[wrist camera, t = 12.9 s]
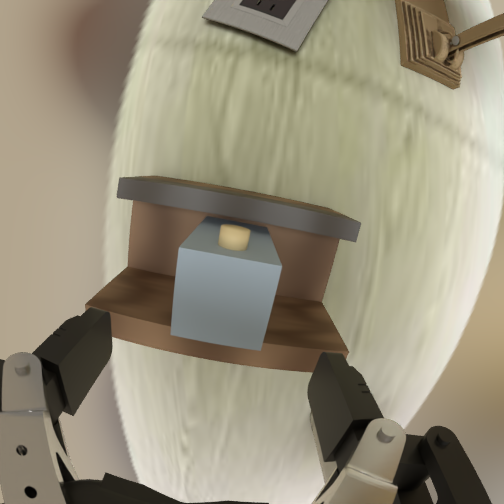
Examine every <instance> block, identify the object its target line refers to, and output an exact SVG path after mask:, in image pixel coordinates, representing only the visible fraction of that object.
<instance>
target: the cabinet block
mask: <svg viewBox="0 0 504 504" xmlns="http://www.w3.org/2000/svg"><path fill="white" fill-rule="evenodd" d="M281 269H282V264H281V262H280V259H279V257H278V254H277V251H276V249H275V246H274V244H273V241H272V239H271V236H270V233H269V231H268V228H267V227H263V226H258V225H253V224H248V223H242V222H237V221H232V220H226V219H221V218H215V217H210V216H206V218H205V219H204V220H203V221H202V222H201V223H200V224H199V225H198V226H197V227H196V229H195V230H194V231H193V232H192V233H191V234H190V235H189V236H188V238H187V239H186V240H185V241H184V242H183V243H182V244H181V245H180V247H179V251H178V259H177V268H176V277H175V287H174V297H173V308H172V320H171V334H170V335H174V336H178V337H183V338H188V339H193V340H198V341H203V342H208V343H214V344H220V345H225V346H231V347H238V348H244V349H251V350H258V351H261V348H262V344H263V340H264V336H265V333H266V329H267V325H268V321H269V317H270V313H271V310H272V306H273V302H274V298H275V294H276V290H277V286H278V282H279V277H280V273H281Z"/></svg>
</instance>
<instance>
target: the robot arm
mask: <svg viewBox="0 0 504 504" xmlns="http://www.w3.org/2000/svg"><path fill="white" fill-rule="evenodd" d="M111 353H112V331H111V315H110V313H109V312H108V311H104V310H101V309H98V308H94V307H90V308H89V309H88V310H87V311H85V313H83V314H82V315H81V316H75V317H73V318H70V319H68V320H66V321H65V322H64V323H63V324H62V325H61V326H60V327H59V329H57V330H56V331H54V332H53V334H52V335H50V336H49V337H48V338H47V339H46V340H45V341H44V342H43V343H42V344H41V345H40V346H39V347H38V348H37V349H36V350H35V351H34V352H33V353H32V354H31V353H26V352H20V353H15V354H13V355H11V356H10V357H8V358H7V359H6V361H5V360H1V359H0V484H1V490H2V494H3V499H4V503H2V504H269V503H255V502H238V501H219V502H204V503H183V502H180V501H177V500H175V499H173V498H170V497H168V496H166V495H164V494H161V493H159V492H157V491H155V490H153V489H151V488H149V487H147V486H145V485H143V484H139V483H136V482H132V481H129V480H126V479H123V478H119V477H117V476H114V475H111V474H109V473H105V475H104V478H103V480H91V479H86V480H79V478H78V476H77V474H76V471H75V469H74V467H73V465H72V462H71V459H70V456H69V452H68V449H67V446H66V442H65V438H64V434H63V430H62V426H61V421H60V418H59V416H60V415H61V413H62V411H63V412H66V413H68V414H70V415H72V416H74V414H75V413H76V411H77V409H78V408H79V406H80V404H81V403H82V401H83V400H84V398H85V396H86V395H87V393H88V392H89V390H90V388H91V387H92V385H93V384H94V382H95V381H96V379H97V377H98V376H99V374H100V373H101V371H102V370H103V368H104V367H105V365H106V364H107V362H108V361H109V359H110V357H111ZM308 399H309V403H310V407H311V411H312V413H311V415H310V421H311V425H312V431H313V434H314V438H315V443H316V447H317V451H318V455H319V460H320V464H321V468H322V473H323V477H324V481H325V485H324V487H323V488H322V489H321V491H320V492H319V494H318V495H317V497H316V498H315V499H314V501H313V502H312V504H433V502H432V499H431V496H430V493H429V491H428V488H427V486H426V483H425V481H426V480H427V479H428V478H429V477H431V480H432V482H433V485H434V487H435V489H436V492H437V495H438V500H437V503H436V504H492V503H491V501H490V499H489V497H488V495H487V493H486V490H485V488H484V487H483V484H482V483H481V480H480V479H479V477H478V475H477V473H476V471H475V469H474V467H473V465H472V464H471V462H470V460H469V458H468V456H467V455H466V453H465V451H464V449H463V447H462V446H461V444H460V442H459V440H458V439H457V437H456V435H455V434H454V433H453V432H452V431H451V430H449V429H448V428H446V427H442V426H434V427H431V428H430V429H429V430H428V431H427V433H426V434H425V435H424V436H417V435H408V434H405V431H404V429H403V428H402V427H401V426H400V425H399V424H398V423H396V422H395V421H392V420H390V419H385V418H384V417H383V415H382V413H381V411H380V409H379V407H378V405H377V403H376V401H375V399H374V398H373V396H372V394H371V393H370V390H369V388H368V386H366V382H365V380H364V378H363V376H362V375H361V374H360V373H359V372H358V371H357V370H356V369H355V368H354V367H353V366H349V365H348V363H347V361H346V359H345V357H344V355H343V354H342V353H333V352H322V353H321V355H320V357H319V359H318V362H317V364H316V367H315V369H314V372H313V374H312V377H311V379H310V382H309V385H308Z"/></svg>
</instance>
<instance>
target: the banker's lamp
mask: <svg viewBox="0 0 504 504" xmlns="http://www.w3.org/2000/svg"><path fill="white" fill-rule="evenodd" d="M395 4H396V11H397V19H398V29H399V40H400V56H401V65H402V66H404V67H406V68H409V69H411V70H414V71H416V72H418V73H421V74H423V75H425V76H427V77H429V78H432V79H434V80H436V81H438V82H440V83H442V84H444V85H446V86H448V87H450V88H451V89H455V88H459V87H460V81H461V78H462V76H461V65H462V63H463V60H464V51H465V50H468V49H470V48H473V47H475V46H478V45H480V44H483V43H485V42H488V41H490V40H493V39H496V38H498V37H501V36H504V13H503V14H501V15H498V16H496V17H494V18H491V19H489V20H487V21H485V22H483V23H480V24H478V25H476V26H474V27H472V28H470V29H468V30H466V31H464V32H462V33H460V34H458V35H456V34H455V29H454V27H453V26H452V25H451V24H449V19H448V15H447V11H446V7H445V3H444V0H395Z"/></svg>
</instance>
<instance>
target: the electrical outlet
mask: <svg viewBox="0 0 504 504" xmlns="http://www.w3.org/2000/svg"><path fill="white" fill-rule="evenodd" d="M327 1H328V0H214V1H213V2H212V4H211V5H210V6H209V8H208V9H207V10H206V12H205V13H204V14H203V16H202V18H204V19H208V20H211V21H215V22H218V23H222V24H225V25H228V26H232V27H235V28H238V29H241V30H244V31H246V32H249V33H252V34H255V35H257V36H260V37H263V38H265V39H268V40H270V41H273V42H275V43H277V44H280V45H282V46H284V47H287V48H289V49H291V50H293V51H296V52H297V50H298V49H299V47H300V45H301V44H302V42H303V40H304V39H305V37H306V35H307V33H308V32H309V30H310V28H311V27H312V25H313V24H314V22H315V20H316V19H317V17H318V15H319V14H320V12H321V11H322V9H323V7H324V6H325V4H326V3H327Z"/></svg>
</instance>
